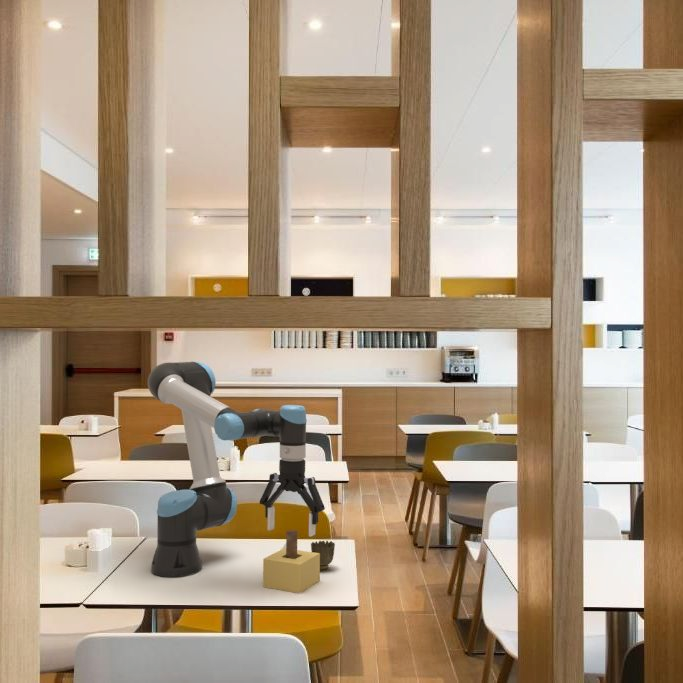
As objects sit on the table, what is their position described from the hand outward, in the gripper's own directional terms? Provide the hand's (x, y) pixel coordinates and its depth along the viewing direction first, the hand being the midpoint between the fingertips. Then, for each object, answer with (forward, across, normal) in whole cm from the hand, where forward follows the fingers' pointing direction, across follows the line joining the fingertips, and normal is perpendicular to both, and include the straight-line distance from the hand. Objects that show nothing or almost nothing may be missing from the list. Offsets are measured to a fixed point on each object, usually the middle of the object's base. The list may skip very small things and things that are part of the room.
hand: (291, 532), depth 210 cm
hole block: (+15, +1, 0) cm, 15 cm away
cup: (+15, +3, +16) cm, 22 cm away
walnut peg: (+14, 0, 0) cm, 14 cm away
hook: (+15, -10, +15) cm, 24 cm away
